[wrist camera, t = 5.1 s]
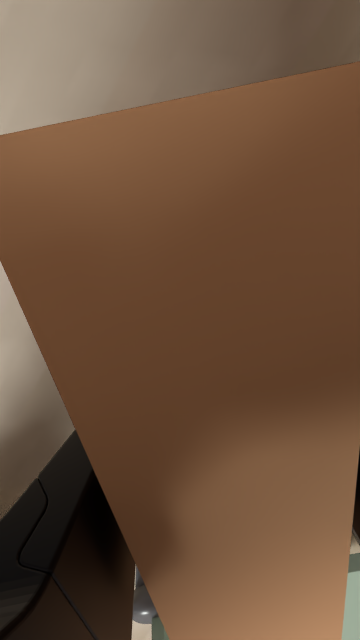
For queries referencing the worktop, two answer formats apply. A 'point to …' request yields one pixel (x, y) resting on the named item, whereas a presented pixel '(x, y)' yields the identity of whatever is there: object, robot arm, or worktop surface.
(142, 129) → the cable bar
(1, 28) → the worktop surface
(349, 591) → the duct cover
